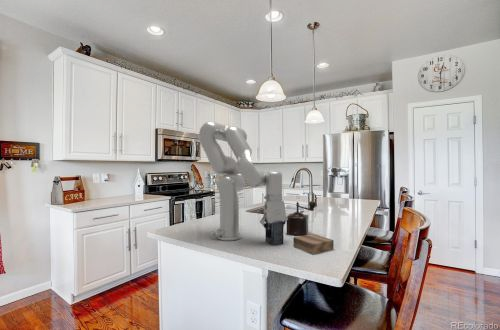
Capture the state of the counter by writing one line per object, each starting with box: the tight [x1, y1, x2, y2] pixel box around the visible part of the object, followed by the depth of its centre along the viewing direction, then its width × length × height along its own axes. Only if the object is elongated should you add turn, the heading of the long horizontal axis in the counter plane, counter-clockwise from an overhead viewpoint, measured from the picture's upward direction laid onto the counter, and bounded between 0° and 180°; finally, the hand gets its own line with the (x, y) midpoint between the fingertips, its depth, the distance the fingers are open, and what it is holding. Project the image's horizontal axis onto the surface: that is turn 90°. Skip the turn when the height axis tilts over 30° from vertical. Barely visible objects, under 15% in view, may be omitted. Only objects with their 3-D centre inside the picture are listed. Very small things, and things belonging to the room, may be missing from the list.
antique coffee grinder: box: [286, 200, 317, 237], centre depth 133 cm, size 16×11×18 cm
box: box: [264, 221, 284, 247], centre depth 118 cm, size 8×6×11 cm
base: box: [293, 233, 335, 256], centre depth 110 cm, size 12×12×4 cm
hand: (274, 236), depth 118 cm, fingers closed on box, 6 cm apart
